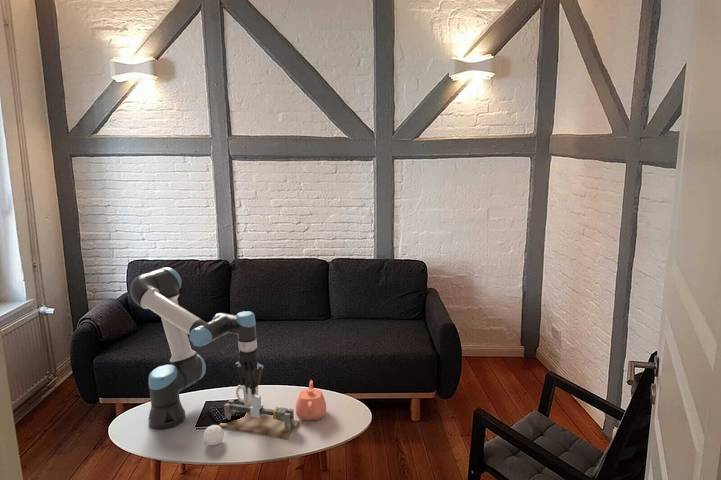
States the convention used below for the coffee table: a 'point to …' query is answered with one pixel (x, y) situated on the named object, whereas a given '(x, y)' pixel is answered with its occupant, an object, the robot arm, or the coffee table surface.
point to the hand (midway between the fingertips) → (251, 400)
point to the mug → (244, 395)
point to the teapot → (310, 404)
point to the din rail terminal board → (262, 421)
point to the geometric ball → (213, 435)
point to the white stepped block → (256, 406)
